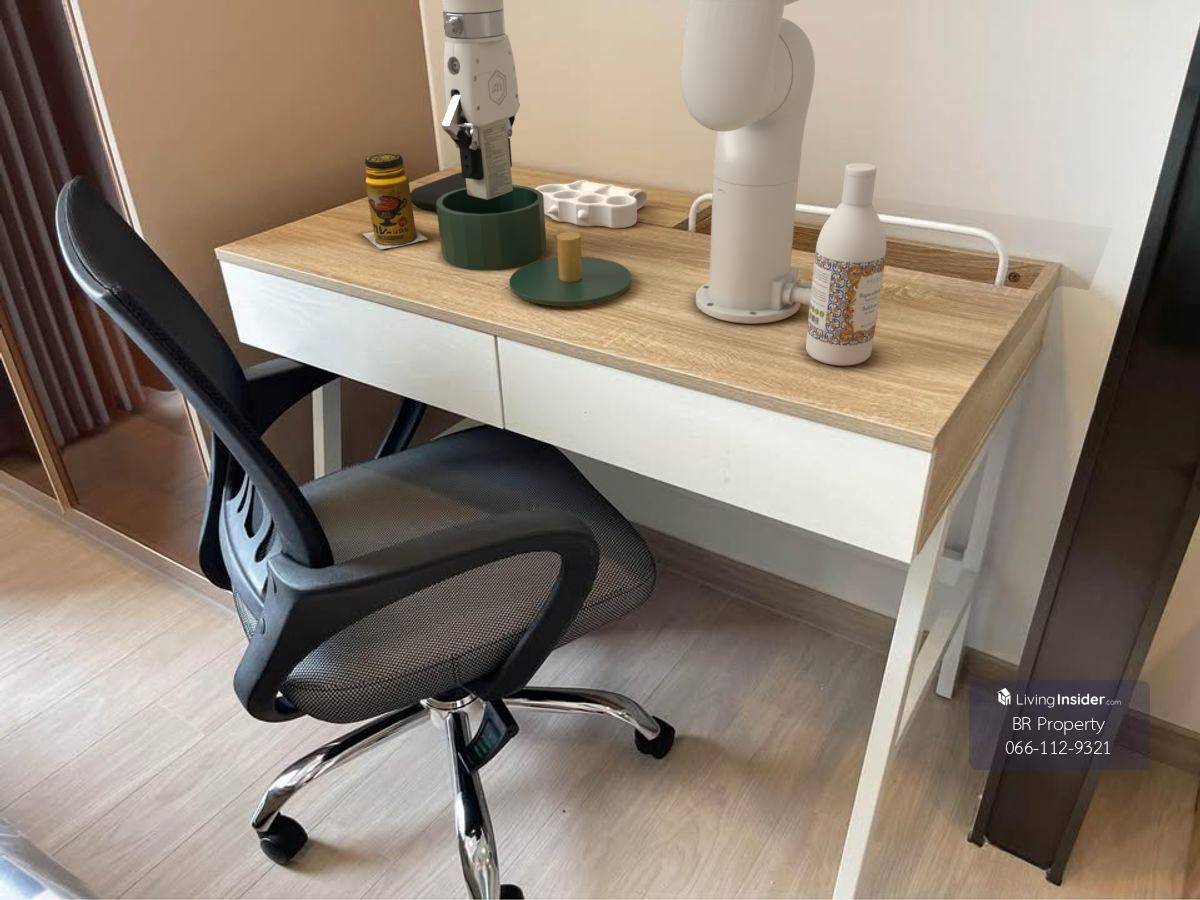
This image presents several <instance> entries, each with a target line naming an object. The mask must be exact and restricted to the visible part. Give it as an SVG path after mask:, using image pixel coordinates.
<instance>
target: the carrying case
mask: <svg viewBox="0 0 1200 900" xmlns="http://www.w3.org/2000/svg"><path fill="white" fill-rule="evenodd" d="M466 187H467V186H466V178H464V177H463V176H462V171H460V172H457V173H454V174H451V175H449V176H448V175H447V176H445V177H442V178H439V179H437V180H433V181H431V182H429V183H425V184H423V185H420V186H417V187H415V188H413V189H412V190H411V191H410V195H411V202H412V206H415V207H417V208H421V209H424V210H430V211H434V212H437V207H436V203H437V199H439V198H440V197H441V196H442V195H444V194H446V193H449V192H451V191H454V190H457V189H461V188H466Z"/></svg>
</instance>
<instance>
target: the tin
mask: <svg viewBox="0 0 1200 900" xmlns="http://www.w3.org/2000/svg"><path fill="white" fill-rule="evenodd" d="M512 186H513V191H511V192H508V193H506V194H503V195H500V196H497V197H494V198H491V199H488V200H486V199H482V198H478V197H474V196H470V195H468V194H467V187H466V188H461V189H457V190H454V191H451V192H449V193H446V194H444V195H442V196H441V197H440V198H439V199H437V203H436V207H437V211H436V215H437V222H438V231H439V240H440V248H441V254H442V258H443V260H444V261H445V262H446V263H448V264H449V265H451V266H455V267H458V268H461V269H467V270H474V271H475V270H476V271H497V270H506V269H513V268H517V267H523V266H526V265H528V264H531V263H534V262H537V261H539V259H541V258H542V257H543V256H544V255H545V254H546V253H547V237H546V236H547V235H546V219H545V218H546V217H545V216H546V215H544V199H543V194H542V193H541V192H539V191H538V190H536V189H535V188H532V187H529V186H526V185H525V186H524V185H520V184H519V185H518V184H512Z"/></svg>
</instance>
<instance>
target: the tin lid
mask: <svg viewBox="0 0 1200 900" xmlns="http://www.w3.org/2000/svg"><path fill="white" fill-rule="evenodd" d="M556 248H557V250H556V251H557V257H553V258H552V257H551V258H546V259H541V260H536V261H534V262H531V263H529V264H525V265H523V266H521V267H520V268H518V269H517V270H515V271H514V272H513V273H512V274H511V275H510V278H509V288H510V290H511V292H512V293H513V294H514V295H515V296H517V297H518V298H521V299H522V300H525V301H527V302H530V303H535V304H539V305H540V304H541V305H546V306H554V307H555V306H557V307H558V306H559V307H573V306H575V307H577V306H587V305H592V304H597V303H602V302H605V301H609V300H611V299H614V298H617V297H619V296H620V295H622V294H624V293H625V292H627V291H628V289H629V288H630V287H631V285H632V281H633V280H632V272H631V271H630V270H629V269H628V268H627V267H625V266H624V265H622V264H620V263H618V262H615V261H613V260H609V259H604V258H600V257H593V256H592V257H591V256H582V235H581V234H580V233H578V232H575V231H565V232H561V233H559V234H557V235H556Z"/></svg>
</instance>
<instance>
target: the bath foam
mask: <svg viewBox="0 0 1200 900" xmlns="http://www.w3.org/2000/svg"><path fill="white" fill-rule="evenodd" d="M843 176H844V177H843V186H842V193H841V202H840V203H839V205H838V206H837V207H836V208H835V209H834V211H833V212H832V213H831V214H830V216H829V217H828V218H827V219H826V221H825V223H824V224H823V226H822V228H821V229H820V232H819V236H818V238H817V241H816V244H815V245H816V246H815V250H814V251H815V252H814V261H813V270H812V279H811V280H812V281H811V283H812V289H811V299H810V306H809V310H808V321H807V329H806V330H807V331H806V332H807V333H806V340H805V350H806V352H807V354H808V355H809V356H810V357H811V358H812V359H813V360H816V361H817V362H820V363H823V364H826V365H831V366H842V367H845V366H854V365H858V364H861V363H863V362H865V361H867V360H868V359H869V358H870V357H871V355H872V351H873V345H874V338H875V334H876V333H875V332H876V327H877V326H876V325H877V320H878V314H879V313H878V312H879V307H880V306H879V305H880V300H881V299H880V298H881V292H882V285H883V284H882V283H883V278H884V271H885V264H886V258H887V237H886V232H885V229H884V226H883V223H882V221H881V218H880V217H879V214H878V213H877V211H876V209H875V207H874V205H873V198H874V191H875V183H876V176H877V166H876V165H874V164H871V163H866V162H852V163H848V164H846V166H845V169H844V175H843Z"/></svg>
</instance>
